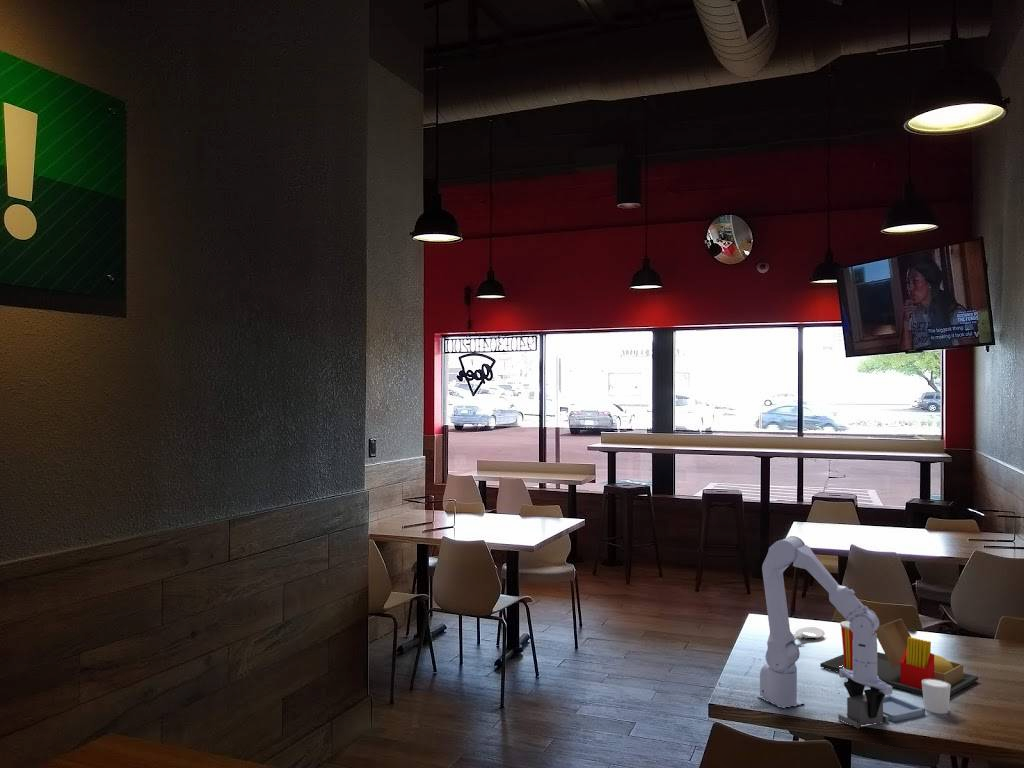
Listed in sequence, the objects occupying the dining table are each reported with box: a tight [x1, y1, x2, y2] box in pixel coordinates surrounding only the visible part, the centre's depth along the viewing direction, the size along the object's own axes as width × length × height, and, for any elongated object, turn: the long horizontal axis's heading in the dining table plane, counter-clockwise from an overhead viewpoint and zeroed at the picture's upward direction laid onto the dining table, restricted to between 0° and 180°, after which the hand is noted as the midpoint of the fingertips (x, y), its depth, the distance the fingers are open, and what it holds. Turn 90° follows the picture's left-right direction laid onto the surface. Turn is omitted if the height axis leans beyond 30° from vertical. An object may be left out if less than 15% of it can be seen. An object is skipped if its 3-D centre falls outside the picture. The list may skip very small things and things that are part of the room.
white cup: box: [922, 679, 951, 715], centre depth 206 cm, size 7×7×7 cm
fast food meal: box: [820, 618, 979, 696], centre depth 233 cm, size 26×35×18 cm
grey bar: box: [846, 693, 884, 725], centre depth 197 cm, size 4×8×6 cm, turn 115°
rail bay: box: [837, 713, 890, 730], centre depth 198 cm, size 6×11×2 cm, turn 115°
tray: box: [883, 694, 926, 723], centre depth 205 cm, size 11×12×2 cm
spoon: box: [793, 626, 825, 641], centre depth 264 cm, size 9×32×4 cm, turn 139°
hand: (865, 714), depth 197 cm, fingers closed on grey bar, 4 cm apart
